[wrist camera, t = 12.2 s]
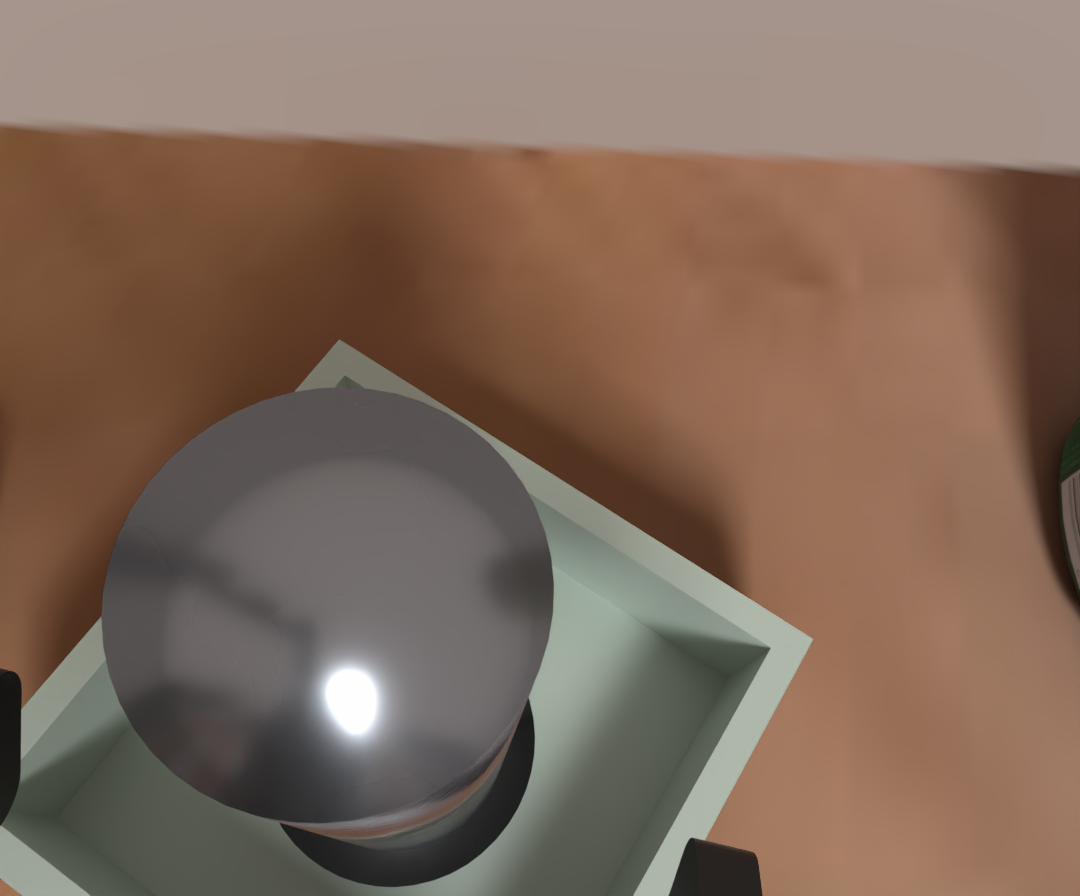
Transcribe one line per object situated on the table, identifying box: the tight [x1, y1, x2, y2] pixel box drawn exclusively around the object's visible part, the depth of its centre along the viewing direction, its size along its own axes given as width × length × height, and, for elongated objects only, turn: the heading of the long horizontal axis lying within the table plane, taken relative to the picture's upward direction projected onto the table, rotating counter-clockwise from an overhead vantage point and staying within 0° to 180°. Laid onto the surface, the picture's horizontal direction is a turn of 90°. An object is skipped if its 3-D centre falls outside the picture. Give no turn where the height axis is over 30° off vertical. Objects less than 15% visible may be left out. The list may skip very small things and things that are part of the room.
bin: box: [0, 339, 813, 896], centre depth 20 cm, size 11×11×4 cm
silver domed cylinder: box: [101, 387, 554, 887], centre depth 15 cm, size 5×5×13 cm
